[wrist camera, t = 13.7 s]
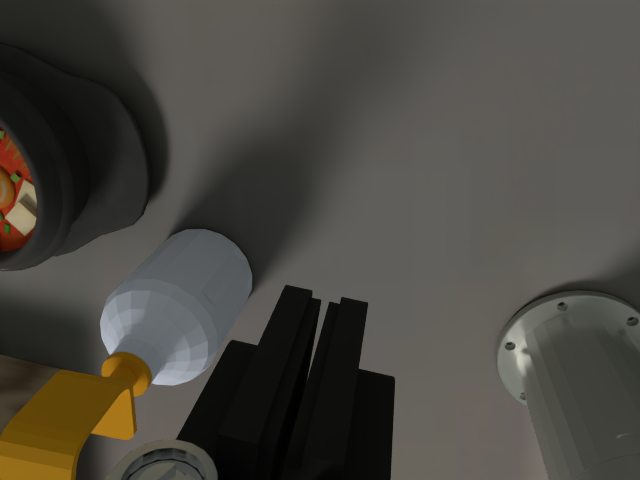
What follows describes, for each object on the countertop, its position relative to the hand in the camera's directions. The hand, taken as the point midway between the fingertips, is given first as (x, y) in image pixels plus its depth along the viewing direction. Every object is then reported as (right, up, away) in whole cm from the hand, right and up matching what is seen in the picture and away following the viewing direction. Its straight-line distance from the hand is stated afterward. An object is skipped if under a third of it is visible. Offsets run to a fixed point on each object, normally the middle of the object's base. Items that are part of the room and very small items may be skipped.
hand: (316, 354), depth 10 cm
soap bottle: (-10, -1, +37) cm, 38 cm away
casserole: (-26, +10, +35) cm, 45 cm away
